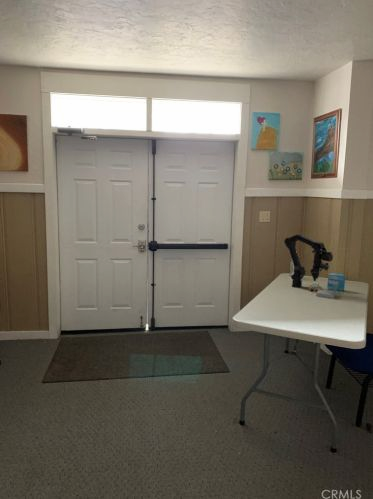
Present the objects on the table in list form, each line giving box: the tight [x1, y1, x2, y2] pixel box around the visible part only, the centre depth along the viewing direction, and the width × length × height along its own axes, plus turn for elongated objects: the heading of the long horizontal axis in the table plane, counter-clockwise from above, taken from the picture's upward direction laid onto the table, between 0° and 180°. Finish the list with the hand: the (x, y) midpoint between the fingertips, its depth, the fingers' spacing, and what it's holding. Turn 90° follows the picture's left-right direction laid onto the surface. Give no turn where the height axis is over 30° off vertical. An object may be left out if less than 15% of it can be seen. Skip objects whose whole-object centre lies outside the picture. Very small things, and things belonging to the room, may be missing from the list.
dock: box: [315, 289, 337, 300], centre depth 284 cm, size 12×10×4 cm
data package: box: [326, 272, 346, 292], centre depth 301 cm, size 12×4×12 cm, turn 64°
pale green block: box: [311, 281, 320, 287], centre depth 295 cm, size 4×4×3 cm
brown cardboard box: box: [307, 284, 323, 293], centre depth 296 cm, size 9×5×4 cm, turn 63°
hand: (315, 279), depth 295 cm, fingers open, 9 cm apart
